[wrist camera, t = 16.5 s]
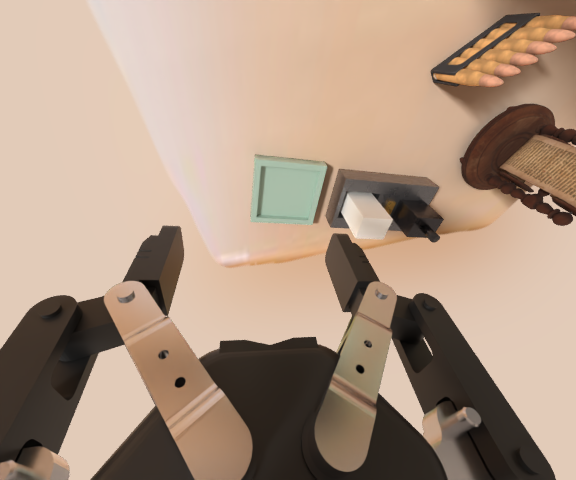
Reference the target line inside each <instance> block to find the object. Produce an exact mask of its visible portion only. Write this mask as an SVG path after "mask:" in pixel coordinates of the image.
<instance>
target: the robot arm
mask: <svg viewBox="0 0 576 480" xmlns="http://www.w3.org/2000/svg"><path fill="white" fill-rule="evenodd" d="M183 260H184V248H183V240H182V233H181V228H180V227H179V226H163V227H162V229H161V231H160V233H159V235H158V236H152V235H151V236H150V237H149V238H147V239H146V240H145V241H144V242H143V243H142V245H141V247H140V249H139V252H138V253H137V255H136V258H135V259H134V260H133V262H132V264H131V266H130V268H129V270H128V272H127V274H126V276H125V278H124V280H123V282H122V283H119V284H117V285H115V286H113V287H112V288H111V289H109V291H108V292H107V293H106V294H105V296H102V297H99V298H95V299H91V300H86V301H82V302H78V303H77V302H76V300H75V299H74V298H73V297H70V296H66V295H60V296H54V297H50V298H47V299H45V300H43V301H41V302H39V303H37V304H36V305H34V306H33V307H32V308H31V309H30V310H29V311H28V312H27V313H26V315H25V316H24V317H23V319H22V320H21V322H20V323H19V324H18V326H17V327H16V329H15V330H14V331H13V333H12V334H11V336H10V337H9V338H8V340H7V341H6V343H5V344H4V345H3V347H2V348H1V349H0V480H68V478H69V465H68V463H67V461H66V460H65V459H64V458H62V457H61V456H59V455H58V453H59V450H60V447H61V445H62V443H63V440H64V438H65V435H66V433H67V430H68V427H69V425H70V423H71V420H72V418H73V415H74V413H75V410H76V408H77V405H78V403H79V400H80V398H81V395H82V393H83V390H84V388H85V385H86V383H87V380H88V378H89V376H90V373H91V370H92V368H93V366H94V363H95V361H96V358H97V356H98V353H99V352H102V351H105V350H109V349H111V348H115V347H118V346H121V345H124V344H125V346H126V348H127V350H128V352H129V354H130V356H131V358H132V359H133V362H134V364H135V366H136V368H137V370H138V372H139V374H140V376H141V378H142V380H143V382H144V384H145V386H146V388H147V390H148V392H149V394H150V396H151V398H152V400H153V402H154V404H155V407H154V408H153V409H152V410H151V411H150V413H149V414H148V415H147V416H146V417H145V418H144V419H143V421H142V422H141V423H140V424H139V425H138V427H136V429H135V430H134V431H133V432H132V433H131V434H130V435H129V437H128V438H127V439H126V440H125V441H124V442H123V443H122V444H121V446H120V447H119V448H118V449H117V450H116V451H115V452H114V454H113V455H112V456H111V457H110V458H109V459H108V460H107V461H106V463H105V464H104V465H103V466H102V467H101V468H100V469H99V471H98V472H97V473H96V474H95V475H94V476H93V477H92V478H91V480H556V479H555V475H554V472H553V470H552V468H551V466H550V464H549V463H548V461H547V460H546V458H545V457H544V455H543V454H542V452H541V451H540V449H539V448H538V446H537V445H536V443H535V442H534V440H533V439H532V438H531V436H530V434H529V433H528V432H527V430H526V428H525V427H524V426H523V424H522V423H521V421H520V420H519V418H518V417H517V415H516V414H515V412H514V411H513V409H512V408H511V406H510V405H509V403H508V402H507V401H506V399H505V398H504V396H503V394H502V393H501V391H500V390H499V389H498V387H497V386H496V384H495V383H494V381H493V380H492V378H491V377H490V375H489V374H488V373H487V371H486V369H485V368H484V366H483V365H482V363H481V362H480V360H479V359H478V357H477V356H476V355H475V353H474V352H473V350H472V349H471V347H470V346H469V344H468V343H467V341H466V340H465V338H464V337H463V336H462V334H461V332H460V331H459V329H458V328H457V327H456V325H455V323H454V322H453V321H452V319H451V318H450V316H449V315H448V313H447V312H446V310H445V309H444V307H443V306H442V305H441V303H440V302H439V301H438V300H437V299H435V298H434V297H432V296H430V295H428V294H424V293H419V294H416V295H415V296H414V298H413V299H409V298H406V297H402V296H398V295H396V293H395V292H394V290H393V289H392V288H391V287H389V286H388V285H386V284H384V283H382V282H380V281H379V279H378V277H377V275H376V273H375V272H374V270H373V268H372V266H371V264H370V263H369V261H368V259H367V258H366V255H365V254H364V252H363V250H362V249H361V248H360V247H359V246H358V245H357V244H356V243H352V242H351V240H350V238H349V236H348V235H347V234H333V235H332V237H331V240H330V243H329V246H328V249H327V252H326V257H325V262H326V266H327V269H328V272H329V274H330V277H331V280H332V283H333V286H334V288H335V291H336V294H337V297H338V300H339V302H340V305H341V308H342V311H343V312H351V314H352V317H351V319H350V322H349V324H348V326H347V329H346V331H345V333H344V336H343V338H342V340H341V343H340V345H339V347H338V350H337V352H334V351H332V350H331V349H329V348H327V347H324V346H322V345H318V344H317V340H316V337H304V338H303V337H302V338H292V339H288V340H285V341H282V342H279V343H276V344H273V345H267V344H262V343H257V342H252V341H247V340H234V341H220V349H217V350H214V351H211V352H209V353H207V354H206V355H204V356H202V357H201V358H199V359H198V358H197V357H196V355H195V354H194V352H193V351H192V349H191V348H190V346H189V345H188V343H187V342H186V340H185V339H184V337H183V336H182V335H181V333H180V332H179V330H178V329H177V327H176V326H175V324H174V323H173V322H172V320H171V319H170V318H169V317H168V313H169V310H170V306H171V303H172V298H173V295H174V292H175V289H176V285H177V281H178V278H179V275H180V271H181V267H182V264H183ZM165 316H167V317H165ZM424 337H425V339H426V341H427V342H428V344H429V346H430V348H431V350H432V354H433V356H432V354H431V352H430V351H429V349H428V347H427V345H426V343H425V341H424V339H423V338H424ZM391 338H392V340H393V342H394V345H395V347H396V349H397V351H398V354H399V356H400V359H401V361H402V363H403V365H404V368H405V370H406V373H407V375H408V377H409V379H410V382H411V384H412V387H413V389H414V391H415V394H416V396H417V398H418V400H419V403H420V405H421V407H422V410H423V412H424V414H425V415H424V417H423V422H422V425H423V430H424V433H423V436H422V435H421V434H420V433H419V432H418V431H417V430H416V429H415V428H414V427H413V426H412V425H411V424H410V423H409V422H408V421H407V420H406V419H405V418H404V417H403V416H402V415H401V414H400V413H399V412H398V411H397V410H395V409H394V408H393V407H392V406H391V405H390V404H389V403H388V402H387V401H386V400H385V399H384V398H383V397H382V396H381V395H380V394H379V393H378V392H379V388H380V384H381V379H382V375H383V371H384V367H385V362H386V358H387V354H388V350H389V345H390V341H391Z"/></svg>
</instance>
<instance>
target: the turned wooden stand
mask: <svg viewBox="0 0 576 480" xmlns="http://www.w3.org/2000/svg"><path fill="white" fill-rule="evenodd" d="M568 142H572V144H574V145H576V130H574V129H567V130H564V128H560V129H558V128H556V127H555V119H554V115H553V113H552V112H551V111H550V110H549V109H548V108H546V107H544V106H541V105H537V104H523V105H519V106H512V107H508V108H507V110H506V111H505V112H503V113H501V114H500V115H498V116H497V117H495V118H494V119H493V120H491V121H490V122H489V123H488V124H487V125H486V126H484V127H483V129H482V130H481V131H480V132H479V133H478V134H477V135H476V137H475V138H474V139H473V141H472V142H471V144H470V145H469V147H468V149H467V151H466V153H465V155H464V157H462V158H460V162H461V163H462V175H463V178H464V180H465V181H466V182H467V183H468V184H469V185H471V186H473V187H474V188H477V189H481V190H488V189H494V188H498V189H501V191H502V192H503V193H504V194H511V196H512V197H514V198H518V199H521V202H522V204H524V205H525V206H527V207H528V208H530V209H536V210H537V211H538V212H540V213H544V214H547V215H548V216H547V217H548V218H550V219H551V218H552V220H553V222H554V223H555V224H556V225H561V226H564V225H568V224H570V223H571V222H572V221H573V217H572V215H571V214H573V215H575V216H576V147H573V146H571V145H570V144H568ZM525 181H527V182H529V183H531V184H533V185H535V186H537V187H539V188H540V189H539V191H538V194H532V195H531V194H525V193H524V191H523V190H522V189H524V190H526V191H528V192H534V191H533V190H532V189H531V188H530V187H529V186H527V185H526V184H524V182H525ZM516 186H518V187H520V188H522V189H519V188H517V189H516ZM549 194H551V195H550V196H551V197H552V200H553V202H554V203H556V204H557V205H558V206H560V207H562V208H563V209H565V210H566V211H568V212H569V213H567V212H560V210H559V209H555V210H554V209H553V208H552V207H551V206H550V205H549V204H548V203H543V197H544V196H547V195H549Z"/></svg>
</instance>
